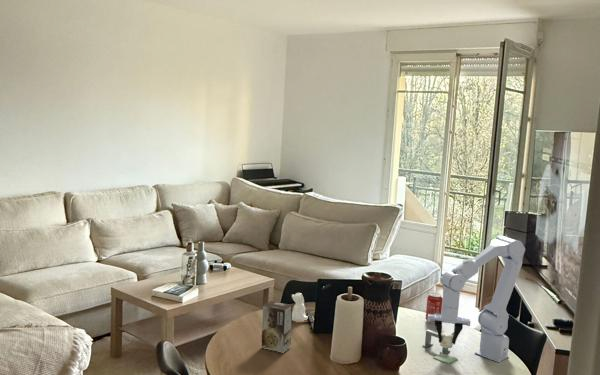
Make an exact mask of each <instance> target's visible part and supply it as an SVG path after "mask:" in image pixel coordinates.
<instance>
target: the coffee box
mask: <svg viewBox="0 0 600 375" xmlns="http://www.w3.org/2000/svg"><path fill="white" fill-rule="evenodd" d="M293 307H294V305H293V304H288V303H282V302H278V301H274V300H270V301H269V302H267V303H266V304H264V305H262V325H261V347H263V348H268V349H271V350H275V351H279V352H285V351H286V350H287V349H288V348H290V349H291V347H292V346H291V344H292V343H291V342H292V324H293V321H292V311H293ZM290 346H291V347H290ZM287 351H288V350H287ZM287 351H286V352H287ZM286 352H285V353H286Z"/></svg>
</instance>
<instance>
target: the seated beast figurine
mask: <svg viewBox="0 0 600 375" xmlns="http://www.w3.org/2000/svg"><path fill="white" fill-rule="evenodd" d="M291 299H292V300H293V301H294V303H295V304H294V305H293V306H292V320H293V321H304V320H307V319H308V316H309V315H306V310H307V309H306V306H305V299H304V296H303V294H302V293H301V292H296V293H295V294H291ZM293 321H292V322H293Z"/></svg>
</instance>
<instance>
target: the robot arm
mask: <svg viewBox="0 0 600 375" xmlns="http://www.w3.org/2000/svg"><path fill="white" fill-rule="evenodd" d="M525 252H526V248H525V246H524V243H523V242H522V241H520V240H518V239H513V238H510V237H508V236H506V235H503V234H500V235H497V236H496V237H495V238H494V239H492V240H491V241H490V244H489V245H488V246H486V247H485V249H483V250H482V251H481V252H479V253H478V254H477V255H476V256H475V257H474V258H473V259H471V258H469V259H464V260H462V263H460V264H459V265H457V266H456V267H454V268H452V270H448V271H446V272H444V273H443V274H442V276H441V278H440V283H441V286H442V309H441V315H431V314H428V321H435V324H434V325H435V329H436V332H437V333H438V336H439V338H438V343H439V344H440V343H441V334H442V333H443V332H442V330H443V323H444V324H454V327H453V328H454V329H453V332H454V335H453V345H456V342H457V339H458V337H459V335H460V333H461V332H462V331H463V326H467V327H471V319H469V318H465V317H460V316H459V306H460V295H461V290H462V289H463V288H464V286H465V285H466V283H467V281H469V279H471V278H473V277H474V276H475V275H476V274H478V273H479V270H480V268H481V267H482V266H483V265H485V264H487V263H489V262H490V261H491V260H493V259H494V258H496V257H501V258H502V260H503V261H504V262H503V263H504V266H503V269H502V271H501V275H500V276H499V280H498V282H497V285H496V288H495V289H494V290H495V291H494V293H493V295H492V298H491V301H490V303H488V304H486V305H484V307H483V309H482V311H481V312H479V314H478V317H477V321H478V323H479V325H480V329H481V330H480V331H481V332H480V333H481V334H480V340H479V341H480V343H479V349H478V350H476V351H474V354H476V355H477V356H481V357H483V358H486V359H489V360H492V361H495V362H497V363H500V362H502V361H503V360H505V359H507V358H509V348H510V347H509V345H510V338H509V337H508V336H507V335H506V334H505V333H506V332H507V330H508V325H509V324H508V321H509V318H510V317H509V314H508V311H507V306H508V304H509V301H510V299H511V296H512V293H513V290H514V287H515V284H516V283H517V279H518V277H519V274H520V271H521V269H522V265H523V260H524V259H523V258H524V254H525Z"/></svg>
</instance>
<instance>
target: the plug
mask: <svg viewBox="0 0 600 375" xmlns="http://www.w3.org/2000/svg"><path fill="white" fill-rule="evenodd" d="M453 335H454V331H453V332H452V333H449V332H441V343H439V346H441V347H442V348H443V347H444V348H448V349H452V348H453V345H454V344H453Z"/></svg>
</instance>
